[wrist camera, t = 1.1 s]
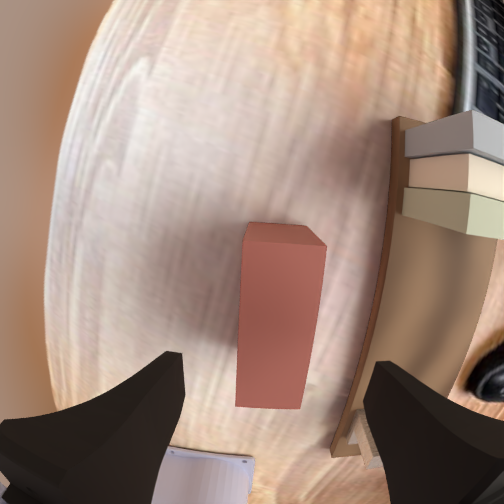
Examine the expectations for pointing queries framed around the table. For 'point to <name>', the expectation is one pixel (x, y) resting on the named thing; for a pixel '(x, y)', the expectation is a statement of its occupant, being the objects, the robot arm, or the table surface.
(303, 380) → the red block
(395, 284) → the shelf board
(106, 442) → the robot arm
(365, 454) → the bookend
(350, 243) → the table surface
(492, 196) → the book row
